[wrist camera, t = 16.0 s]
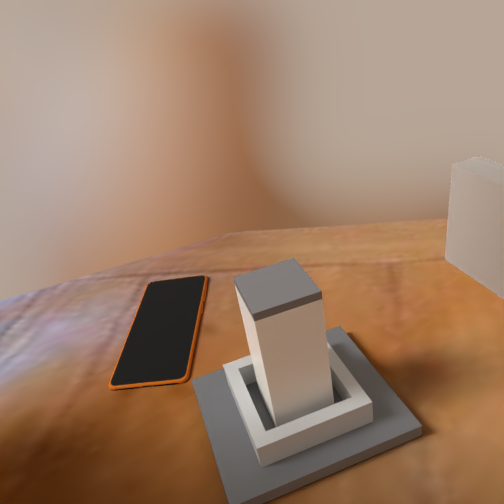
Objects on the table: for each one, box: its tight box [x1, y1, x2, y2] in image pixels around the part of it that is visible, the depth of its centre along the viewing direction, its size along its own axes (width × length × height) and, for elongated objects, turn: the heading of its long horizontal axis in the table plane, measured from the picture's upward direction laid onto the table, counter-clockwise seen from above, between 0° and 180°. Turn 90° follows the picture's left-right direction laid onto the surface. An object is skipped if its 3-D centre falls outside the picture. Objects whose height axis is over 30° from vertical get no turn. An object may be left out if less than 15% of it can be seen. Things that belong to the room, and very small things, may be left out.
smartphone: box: [108, 275, 208, 391], centre depth 48 cm, size 8×17×1 cm, turn 178°
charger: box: [233, 258, 334, 428], centre depth 33 cm, size 4×4×11 cm
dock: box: [192, 326, 422, 504], centre depth 35 cm, size 14×12×3 cm
